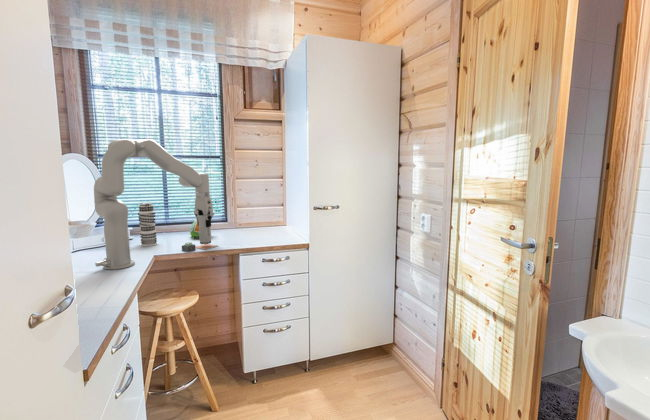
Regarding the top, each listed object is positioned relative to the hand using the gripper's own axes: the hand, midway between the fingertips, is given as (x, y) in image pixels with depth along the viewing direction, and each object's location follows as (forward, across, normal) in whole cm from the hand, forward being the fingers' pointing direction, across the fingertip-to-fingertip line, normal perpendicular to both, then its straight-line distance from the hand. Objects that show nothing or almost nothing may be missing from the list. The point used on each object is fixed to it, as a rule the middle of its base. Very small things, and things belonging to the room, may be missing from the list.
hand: (204, 225), depth 192 cm
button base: (+12, +2, +10) cm, 16 cm away
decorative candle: (+13, +35, +12) cm, 39 cm away
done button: (+10, +2, +10) cm, 14 cm away
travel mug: (+10, 0, 0) cm, 10 cm away
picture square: (+12, 0, 0) cm, 12 cm away
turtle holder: (+13, +25, -17) cm, 33 cm away
